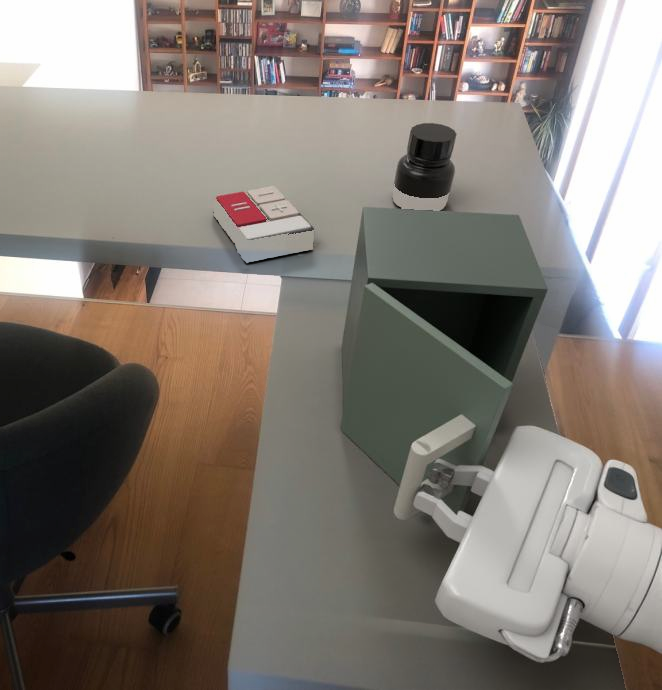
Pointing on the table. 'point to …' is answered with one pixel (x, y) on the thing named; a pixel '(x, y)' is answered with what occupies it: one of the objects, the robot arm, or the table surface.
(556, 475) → the robot arm
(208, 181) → the table surface
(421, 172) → the ink bottle
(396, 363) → the cabinet door
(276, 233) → the calculator
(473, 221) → the green cabinet
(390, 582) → the table surface
